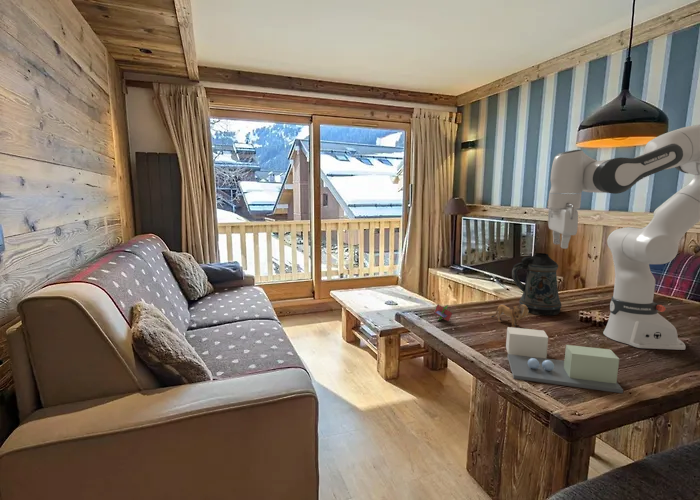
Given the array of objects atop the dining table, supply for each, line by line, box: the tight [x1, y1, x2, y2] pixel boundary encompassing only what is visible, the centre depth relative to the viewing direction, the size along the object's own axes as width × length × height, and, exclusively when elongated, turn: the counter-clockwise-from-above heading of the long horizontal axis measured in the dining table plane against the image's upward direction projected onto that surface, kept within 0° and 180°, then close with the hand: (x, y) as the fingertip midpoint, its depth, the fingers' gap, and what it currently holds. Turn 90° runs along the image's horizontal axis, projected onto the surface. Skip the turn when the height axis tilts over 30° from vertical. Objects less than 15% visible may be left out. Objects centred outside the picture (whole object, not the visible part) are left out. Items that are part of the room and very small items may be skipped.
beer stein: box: [511, 252, 562, 316], centre depth 158 cm, size 16×19×25 cm
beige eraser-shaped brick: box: [505, 326, 549, 359], centre depth 117 cm, size 11×6×7 cm, turn 73°
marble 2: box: [542, 360, 554, 371], centre depth 104 cm, size 3×3×3 cm
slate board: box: [507, 353, 624, 394], centre depth 104 cm, size 26×14×1 cm, turn 73°
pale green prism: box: [563, 344, 620, 384], centre depth 100 cm, size 11×6×7 cm, turn 73°
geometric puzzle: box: [433, 304, 453, 323], centre depth 146 cm, size 7×7×8 cm
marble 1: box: [528, 358, 539, 369], centre depth 105 cm, size 3×3×3 cm
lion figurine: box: [491, 304, 529, 328], centre depth 143 cm, size 15×5×9 cm, turn 38°
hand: (560, 246), depth 117 cm, fingers open, 8 cm apart
